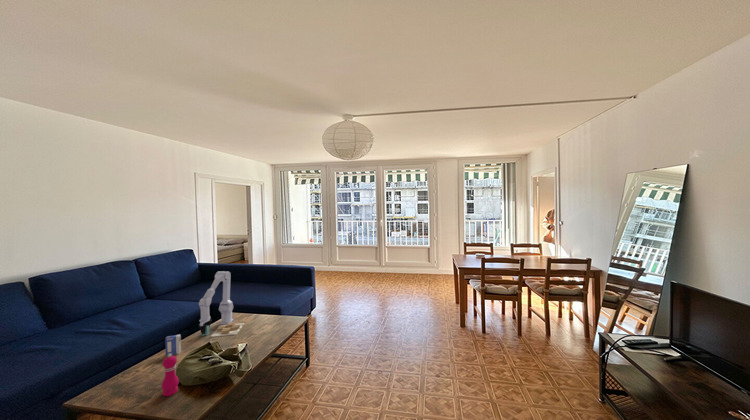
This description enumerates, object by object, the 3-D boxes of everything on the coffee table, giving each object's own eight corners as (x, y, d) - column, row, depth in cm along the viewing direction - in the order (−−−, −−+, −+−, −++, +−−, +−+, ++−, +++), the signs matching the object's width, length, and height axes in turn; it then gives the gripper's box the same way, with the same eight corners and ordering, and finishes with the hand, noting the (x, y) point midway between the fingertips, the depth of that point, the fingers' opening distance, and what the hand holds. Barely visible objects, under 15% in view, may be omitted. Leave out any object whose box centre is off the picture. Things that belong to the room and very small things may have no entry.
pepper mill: (176, 386, 149) (175, 349, 149) (180, 391, 144) (180, 353, 144) (159, 393, 143) (159, 354, 143) (163, 399, 138) (163, 359, 138)
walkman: (165, 355, 181) (165, 337, 181) (167, 353, 183) (166, 335, 183) (179, 353, 183) (179, 335, 183) (181, 351, 186) (180, 333, 186)
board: (220, 326, 226) (220, 322, 226) (244, 324, 230) (244, 320, 230) (210, 337, 207) (210, 333, 207) (236, 334, 210) (236, 330, 210)
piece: (203, 333, 213) (203, 325, 213) (209, 333, 214) (209, 325, 214) (201, 335, 209) (201, 328, 209) (207, 335, 210) (207, 327, 210)
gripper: (203, 311, 218) (203, 328, 218) (195, 318, 204) (195, 336, 204) (213, 310, 219) (213, 327, 219) (205, 317, 205) (205, 335, 205)
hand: (205, 331), depth 211 cm, fingers open, 7 cm apart
